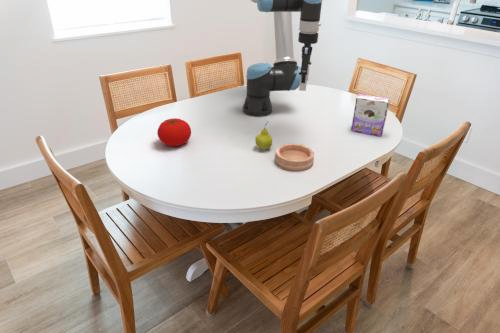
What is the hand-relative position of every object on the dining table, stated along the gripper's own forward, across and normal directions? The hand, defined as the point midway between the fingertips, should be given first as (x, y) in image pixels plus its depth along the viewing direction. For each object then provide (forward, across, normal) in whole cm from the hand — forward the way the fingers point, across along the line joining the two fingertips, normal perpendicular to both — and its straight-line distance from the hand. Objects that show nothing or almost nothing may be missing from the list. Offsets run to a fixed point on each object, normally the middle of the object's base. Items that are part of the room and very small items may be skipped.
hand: (303, 85), depth 156 cm
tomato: (+23, -20, +51) cm, 59 cm away
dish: (+23, -24, 0) cm, 33 cm away
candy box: (+23, +11, -30) cm, 40 cm away
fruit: (+23, -16, +14) cm, 31 cm away
